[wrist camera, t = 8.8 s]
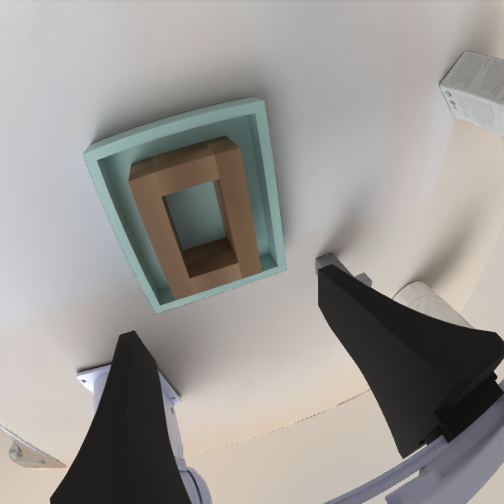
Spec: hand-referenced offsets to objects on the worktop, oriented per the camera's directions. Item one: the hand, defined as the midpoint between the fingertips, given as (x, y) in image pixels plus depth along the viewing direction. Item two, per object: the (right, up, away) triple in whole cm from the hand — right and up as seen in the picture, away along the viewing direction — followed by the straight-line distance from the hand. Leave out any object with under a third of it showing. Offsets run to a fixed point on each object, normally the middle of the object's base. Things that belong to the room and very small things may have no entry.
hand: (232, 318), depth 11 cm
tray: (-3, +5, +8) cm, 10 cm away
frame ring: (-3, +5, +7) cm, 9 cm away
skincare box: (+19, +18, +8) cm, 28 cm away
